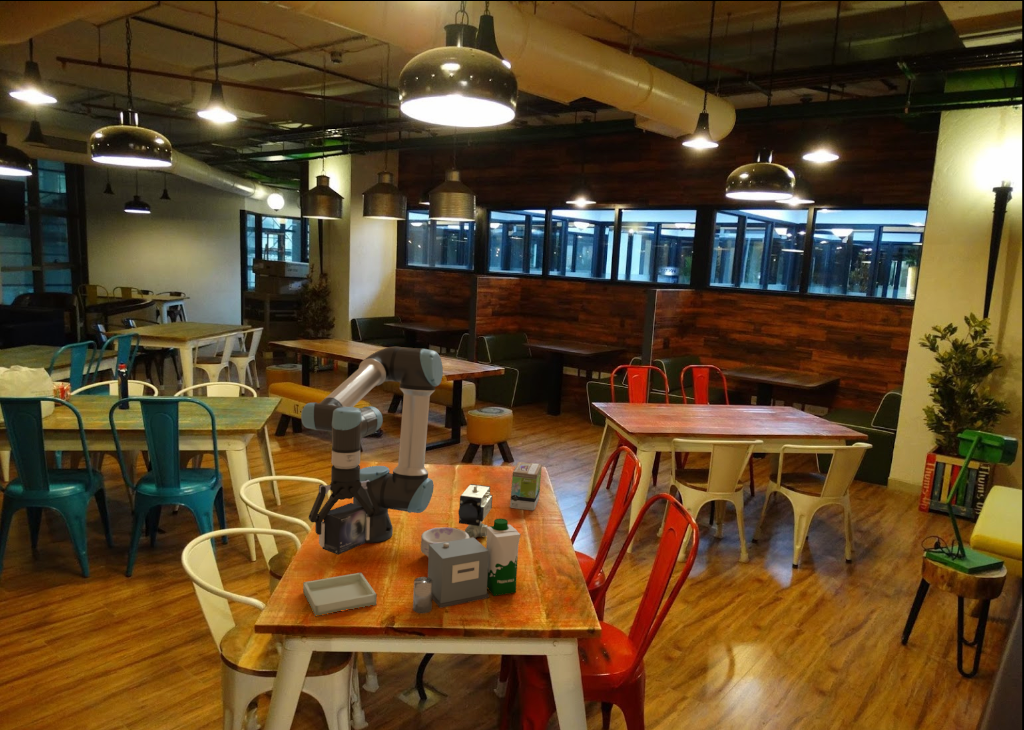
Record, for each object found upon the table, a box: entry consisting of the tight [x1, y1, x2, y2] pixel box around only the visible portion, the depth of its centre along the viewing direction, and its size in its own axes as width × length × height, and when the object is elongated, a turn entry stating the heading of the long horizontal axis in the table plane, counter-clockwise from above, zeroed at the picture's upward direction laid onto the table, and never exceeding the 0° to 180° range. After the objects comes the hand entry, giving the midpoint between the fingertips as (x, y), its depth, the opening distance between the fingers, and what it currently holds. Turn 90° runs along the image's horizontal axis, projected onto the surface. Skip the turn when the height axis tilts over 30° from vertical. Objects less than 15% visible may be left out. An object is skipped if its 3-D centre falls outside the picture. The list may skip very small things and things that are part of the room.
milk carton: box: [485, 518, 521, 597], centre depth 202 cm, size 9×9×20 cm
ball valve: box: [457, 483, 493, 539], centre depth 240 cm, size 18×8×18 cm, turn 168°
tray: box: [302, 572, 378, 617], centre depth 193 cm, size 14×16×3 cm
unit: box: [427, 537, 490, 609], centre depth 198 cm, size 11×15×15 cm
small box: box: [321, 502, 366, 555], centre depth 191 cm, size 11×6×10 cm, turn 149°
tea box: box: [509, 461, 543, 511], centre depth 275 cm, size 15×10×15 cm
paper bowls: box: [420, 527, 470, 559], centre depth 222 cm, size 15×15×8 cm
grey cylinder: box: [412, 576, 433, 614], centre depth 190 cm, size 5×5×8 cm
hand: (344, 541), depth 191 cm, fingers closed on small box, 12 cm apart
